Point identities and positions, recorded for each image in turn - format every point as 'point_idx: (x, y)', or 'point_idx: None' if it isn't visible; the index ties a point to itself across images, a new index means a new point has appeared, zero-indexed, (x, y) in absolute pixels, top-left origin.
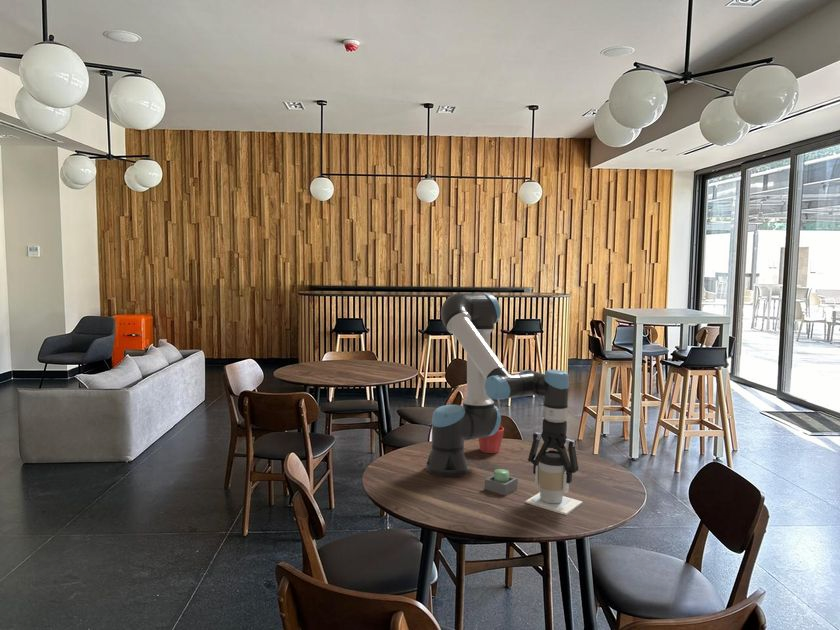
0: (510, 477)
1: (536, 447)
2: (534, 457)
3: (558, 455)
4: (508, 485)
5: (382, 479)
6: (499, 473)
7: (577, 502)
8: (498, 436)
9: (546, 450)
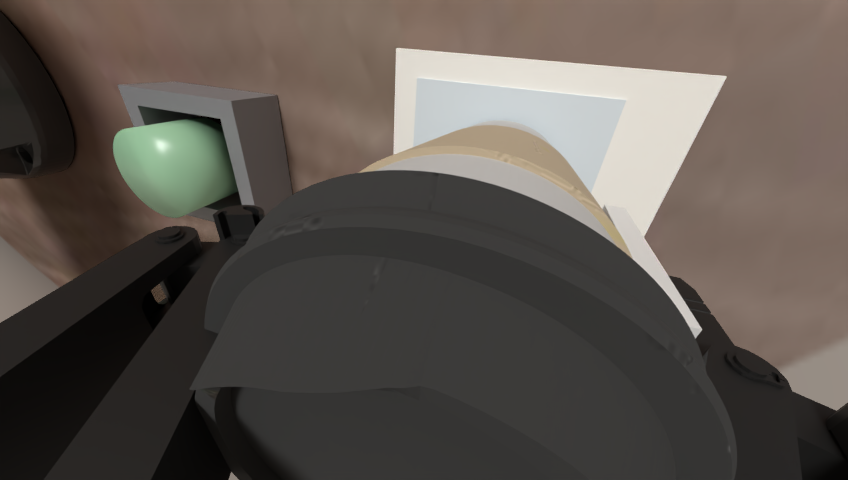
0: (200, 112)
1: (13, 444)
2: (177, 269)
3: (483, 477)
4: (263, 201)
5: (51, 266)
6: (171, 211)
7: (677, 121)
8: None
9: (173, 440)
